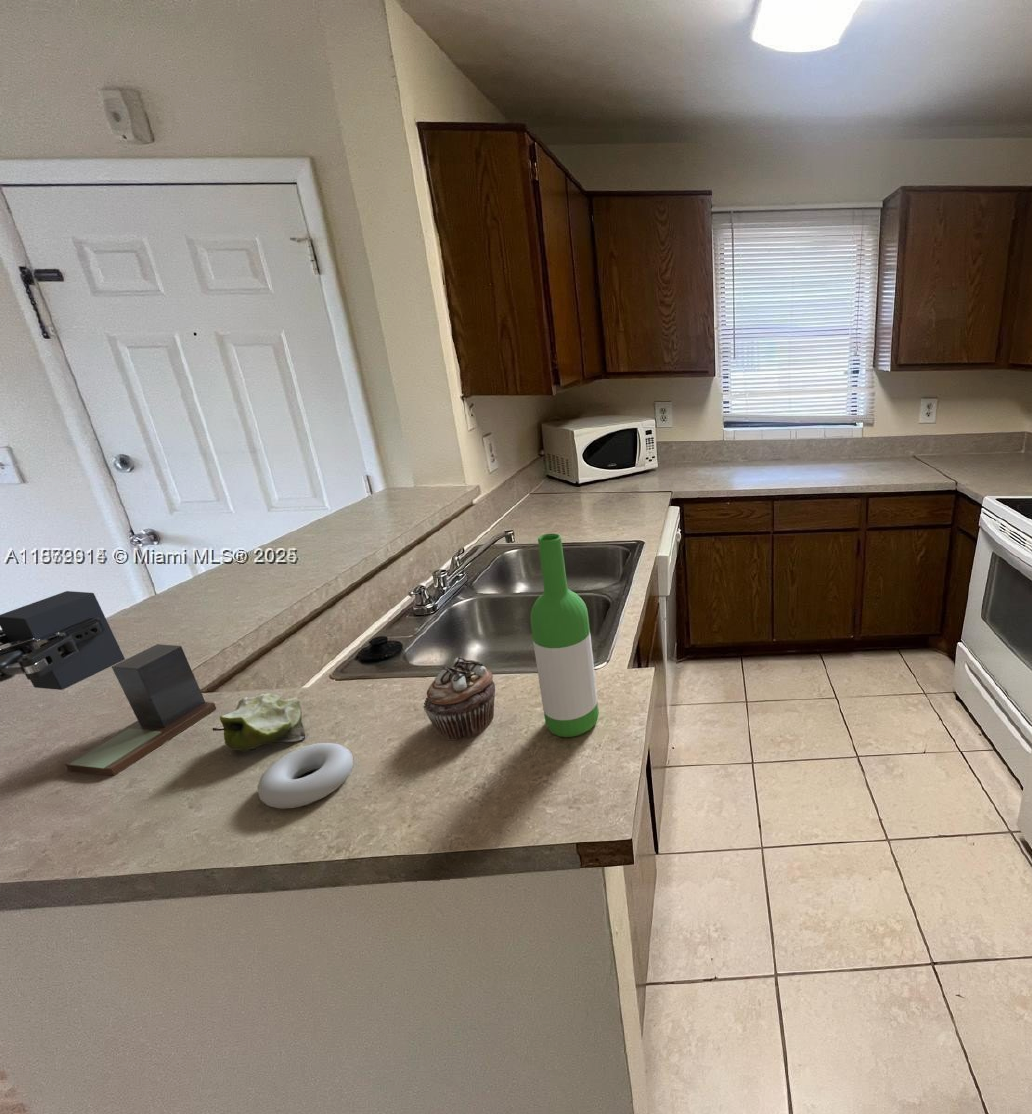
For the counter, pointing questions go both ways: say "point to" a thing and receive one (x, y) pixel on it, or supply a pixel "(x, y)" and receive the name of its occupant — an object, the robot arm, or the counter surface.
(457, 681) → the cupcake
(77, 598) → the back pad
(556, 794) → the counter surface
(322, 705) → the counter surface
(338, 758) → the donut
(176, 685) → the grey block on board
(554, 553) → the wine bottle
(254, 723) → the fruit
